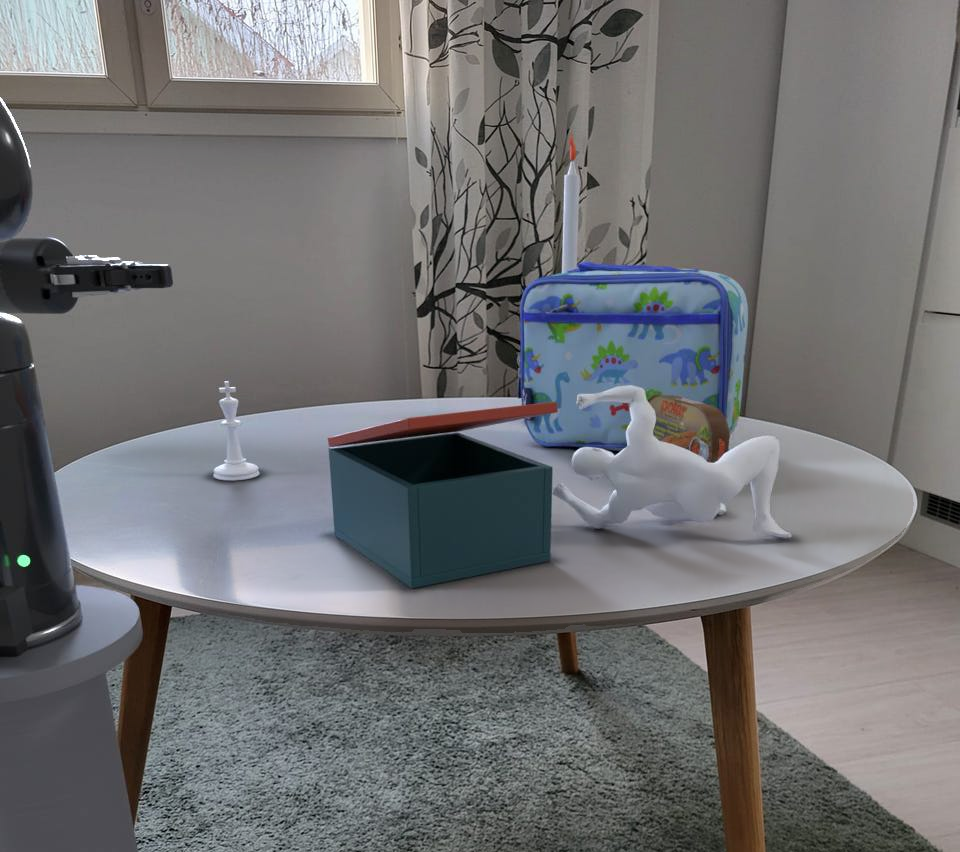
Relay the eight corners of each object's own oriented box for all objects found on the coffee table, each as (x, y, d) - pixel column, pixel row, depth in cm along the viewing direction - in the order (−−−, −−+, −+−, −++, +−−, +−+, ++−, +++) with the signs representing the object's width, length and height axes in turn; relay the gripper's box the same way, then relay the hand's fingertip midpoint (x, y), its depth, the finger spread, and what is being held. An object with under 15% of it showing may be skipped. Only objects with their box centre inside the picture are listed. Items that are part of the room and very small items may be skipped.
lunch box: (507, 445, 118) (508, 262, 110) (543, 429, 127) (546, 259, 119) (717, 468, 107) (736, 266, 99) (741, 448, 116) (760, 262, 108)
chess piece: (261, 478, 104) (251, 384, 100) (213, 482, 103) (202, 386, 99) (258, 468, 108) (249, 377, 104) (213, 471, 107) (202, 379, 103)
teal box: (550, 561, 79) (553, 466, 75) (411, 589, 73) (407, 488, 70) (459, 514, 91) (458, 432, 88) (334, 535, 85) (328, 447, 82)
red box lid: (558, 412, 73) (557, 401, 73) (409, 429, 68) (407, 418, 67) (458, 431, 88) (457, 422, 88) (328, 447, 82) (327, 437, 82)
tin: (632, 464, 109) (636, 388, 106) (657, 461, 110) (662, 386, 107) (702, 497, 96) (710, 411, 93) (730, 494, 97) (738, 409, 94)
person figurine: (750, 392, 88) (581, 369, 81) (837, 450, 79) (654, 430, 71) (700, 519, 95) (539, 508, 87) (774, 586, 85) (601, 581, 78)
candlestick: (521, 415, 136) (524, 136, 122) (597, 414, 137) (609, 136, 123) (529, 431, 126) (533, 129, 112) (611, 429, 127) (626, 129, 113)
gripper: (-31, 239, 95) (126, 238, 91) (53, 236, 107) (195, 235, 103) (-14, 319, 98) (139, 321, 94) (66, 308, 110) (204, 309, 106)
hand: (168, 276), depth 99 cm, fingers closed
